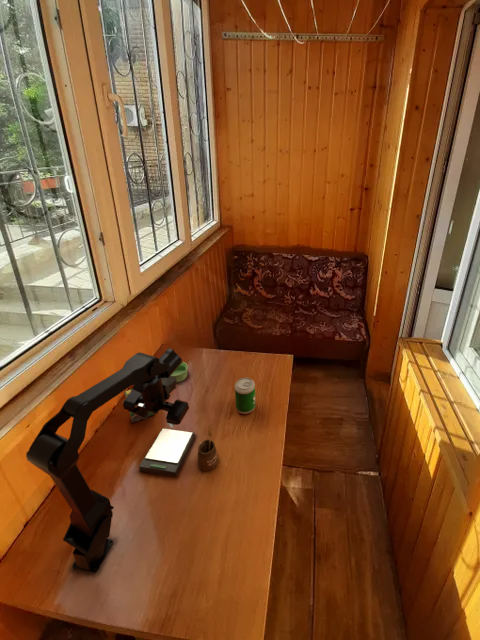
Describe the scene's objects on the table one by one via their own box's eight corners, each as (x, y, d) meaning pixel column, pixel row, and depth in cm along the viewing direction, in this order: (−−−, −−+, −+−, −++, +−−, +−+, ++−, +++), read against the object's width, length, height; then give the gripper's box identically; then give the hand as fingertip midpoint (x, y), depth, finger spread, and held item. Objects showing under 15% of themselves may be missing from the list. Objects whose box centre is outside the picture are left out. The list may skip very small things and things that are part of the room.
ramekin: (167, 371, 139) (166, 363, 137) (188, 367, 141) (187, 359, 140) (166, 385, 131) (165, 377, 129) (188, 381, 133) (187, 373, 132)
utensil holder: (194, 468, 98) (191, 440, 94) (205, 450, 103) (202, 423, 99) (211, 474, 96) (208, 446, 92) (221, 456, 101) (219, 428, 97)
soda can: (252, 417, 116) (251, 392, 112) (233, 413, 117) (231, 388, 113) (258, 401, 123) (257, 377, 119) (240, 398, 124) (238, 374, 120)
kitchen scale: (176, 476, 95) (175, 471, 94) (139, 471, 97) (138, 465, 96) (195, 436, 108) (194, 431, 107) (163, 432, 110) (162, 426, 109)
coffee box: (131, 424, 113) (124, 396, 108) (130, 418, 115) (124, 390, 110) (154, 414, 117) (149, 387, 112) (153, 409, 119) (148, 382, 114)
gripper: (195, 375, 94) (199, 407, 102) (141, 360, 98) (149, 393, 105) (175, 407, 85) (181, 440, 93) (116, 390, 88) (127, 423, 96)
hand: (160, 422), depth 97 cm, fingers open, 9 cm apart
